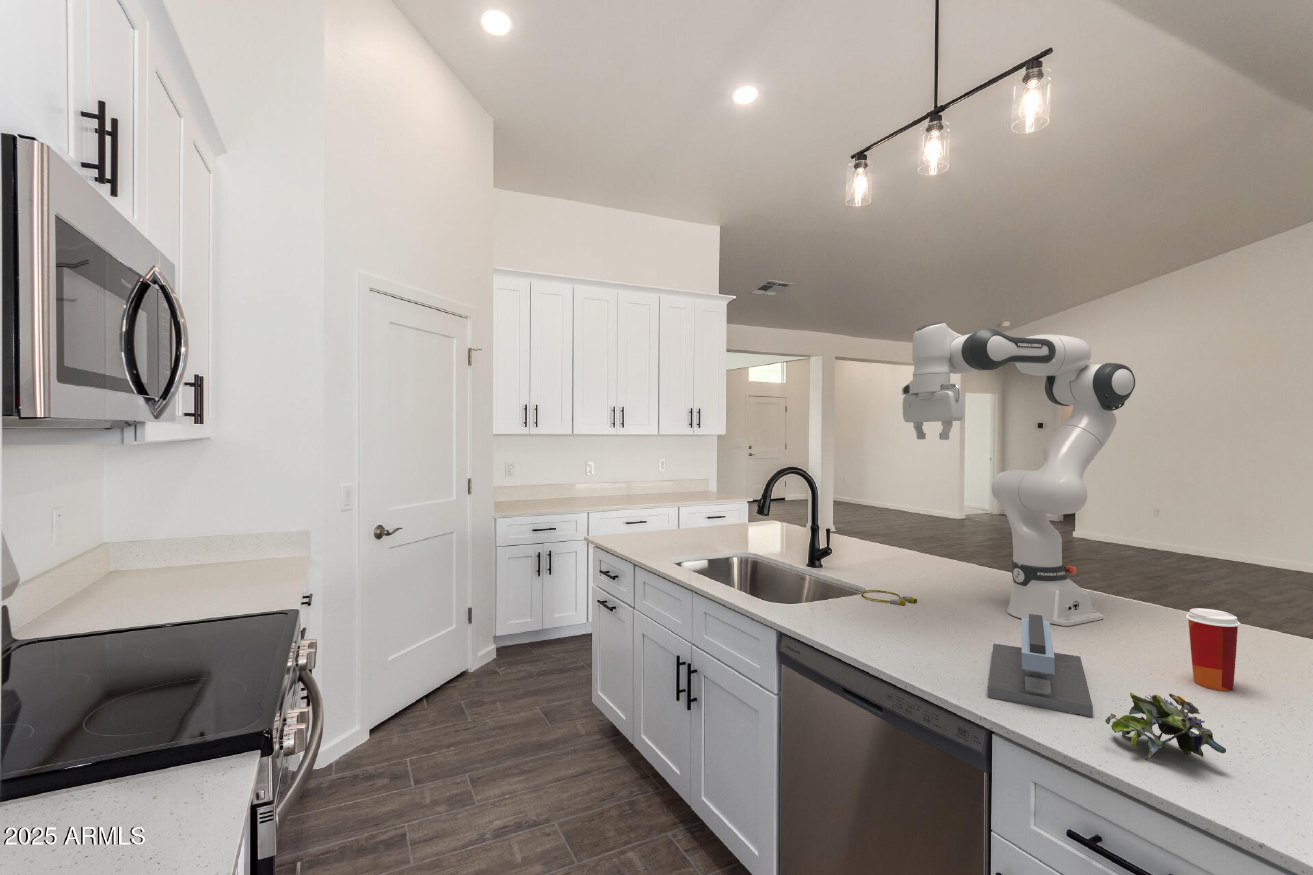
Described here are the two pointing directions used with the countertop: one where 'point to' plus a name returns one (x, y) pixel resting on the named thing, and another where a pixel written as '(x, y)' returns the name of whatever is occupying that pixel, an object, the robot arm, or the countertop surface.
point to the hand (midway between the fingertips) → (932, 439)
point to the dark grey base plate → (1039, 682)
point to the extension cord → (892, 601)
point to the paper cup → (1213, 647)
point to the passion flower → (1165, 724)
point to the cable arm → (1037, 645)
